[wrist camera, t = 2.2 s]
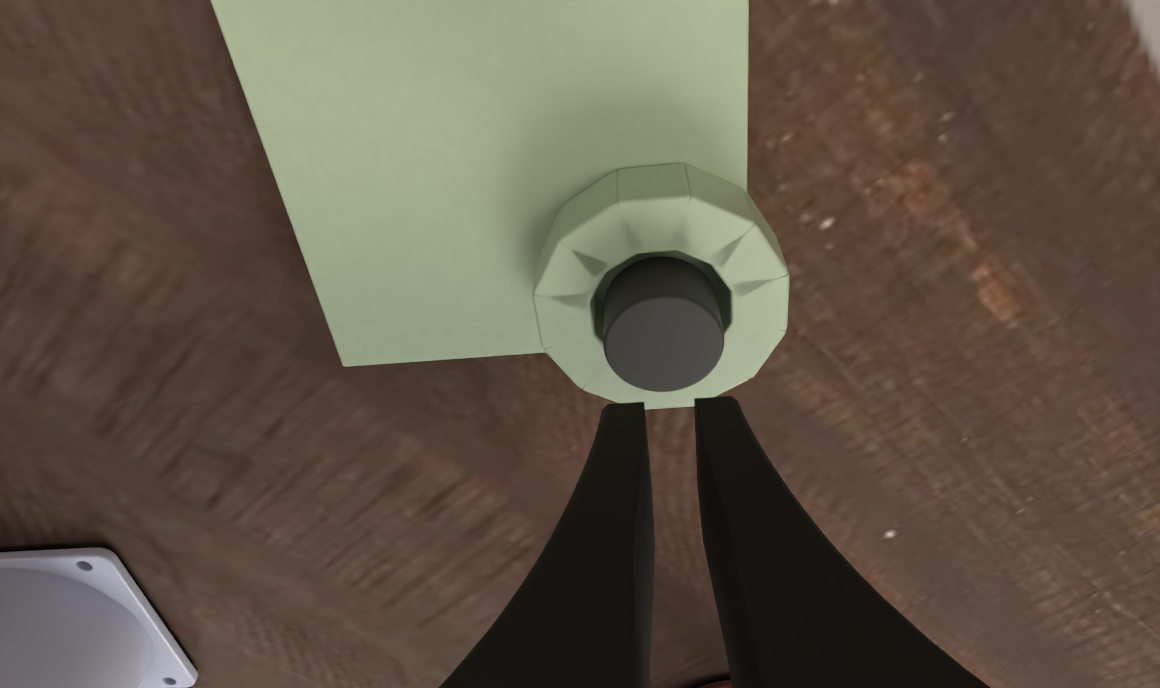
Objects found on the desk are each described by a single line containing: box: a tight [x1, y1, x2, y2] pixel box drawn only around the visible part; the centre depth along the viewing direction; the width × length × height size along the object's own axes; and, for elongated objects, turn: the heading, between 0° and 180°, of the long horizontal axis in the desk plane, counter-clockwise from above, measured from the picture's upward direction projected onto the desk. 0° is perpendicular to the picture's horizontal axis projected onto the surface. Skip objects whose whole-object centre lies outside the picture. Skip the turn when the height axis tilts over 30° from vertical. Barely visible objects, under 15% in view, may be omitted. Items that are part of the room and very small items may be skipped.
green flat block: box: [211, 0, 789, 409], centre depth 17 cm, size 11×11×4 cm
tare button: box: [603, 256, 724, 392], centre depth 16 cm, size 2×2×2 cm
